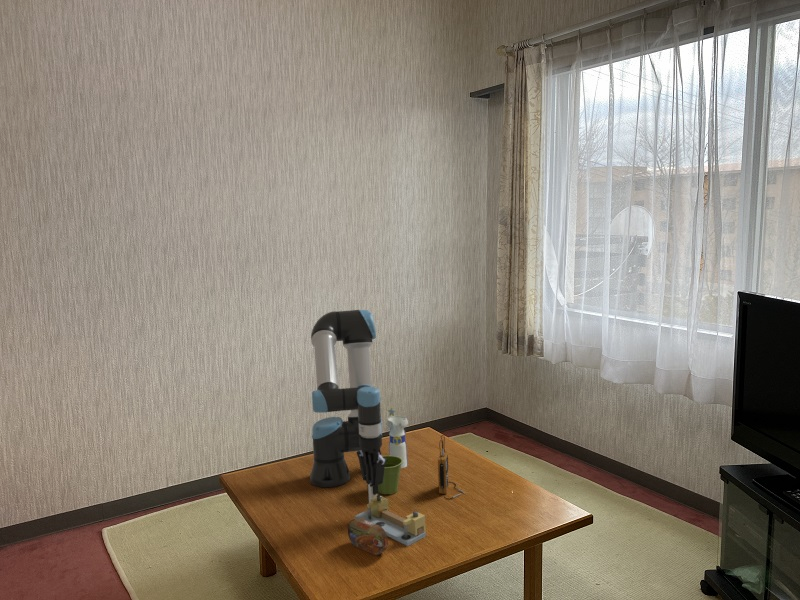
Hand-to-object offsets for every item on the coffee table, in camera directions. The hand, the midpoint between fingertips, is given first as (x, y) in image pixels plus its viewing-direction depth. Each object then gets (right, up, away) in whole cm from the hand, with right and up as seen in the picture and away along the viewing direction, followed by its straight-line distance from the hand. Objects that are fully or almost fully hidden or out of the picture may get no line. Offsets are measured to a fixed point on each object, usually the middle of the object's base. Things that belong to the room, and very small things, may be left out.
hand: (373, 502), depth 207 cm
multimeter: (+28, -2, +17) cm, 33 cm away
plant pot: (+4, -2, +19) cm, 20 cm away
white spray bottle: (+8, +1, +42) cm, 43 cm away
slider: (+1, -3, -2) cm, 4 cm away
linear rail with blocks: (+5, -5, -8) cm, 11 cm away
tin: (-1, -8, -20) cm, 21 cm away
